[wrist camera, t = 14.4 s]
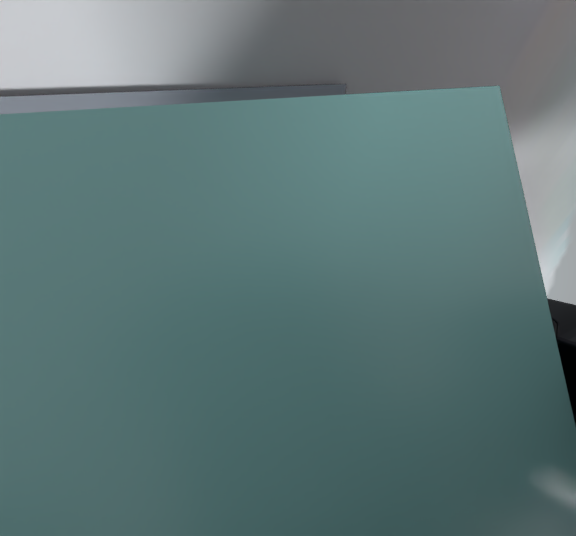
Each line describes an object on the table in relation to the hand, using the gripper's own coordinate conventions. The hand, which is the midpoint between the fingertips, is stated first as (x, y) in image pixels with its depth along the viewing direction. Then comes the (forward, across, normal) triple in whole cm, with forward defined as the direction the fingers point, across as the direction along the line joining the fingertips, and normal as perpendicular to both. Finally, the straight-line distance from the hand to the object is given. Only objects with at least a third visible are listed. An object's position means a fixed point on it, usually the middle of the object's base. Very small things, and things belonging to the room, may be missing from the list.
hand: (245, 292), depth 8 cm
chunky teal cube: (+1, 0, +3) cm, 3 cm away
